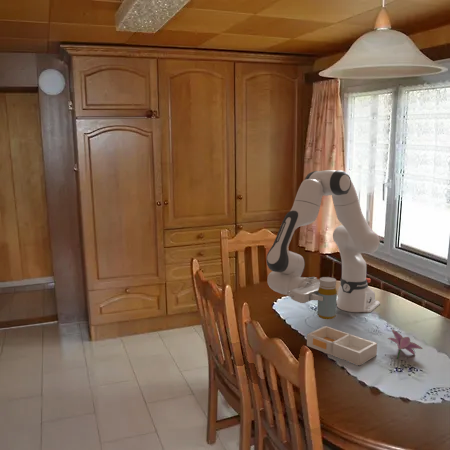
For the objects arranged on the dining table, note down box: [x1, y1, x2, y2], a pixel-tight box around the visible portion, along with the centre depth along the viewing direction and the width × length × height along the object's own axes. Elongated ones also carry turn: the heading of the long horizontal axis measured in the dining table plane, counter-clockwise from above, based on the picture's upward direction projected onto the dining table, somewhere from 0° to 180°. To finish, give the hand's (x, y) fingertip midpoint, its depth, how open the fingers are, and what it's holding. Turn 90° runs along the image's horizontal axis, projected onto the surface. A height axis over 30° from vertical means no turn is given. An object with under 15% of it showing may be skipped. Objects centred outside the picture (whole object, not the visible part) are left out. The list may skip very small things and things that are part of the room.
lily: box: [387, 329, 423, 360], centre depth 175 cm, size 12×12×10 cm
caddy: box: [306, 325, 378, 366], centre depth 180 cm, size 12×23×5 cm, turn 43°
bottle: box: [316, 276, 338, 320], centre depth 183 cm, size 7×7×15 cm
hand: (329, 296), depth 182 cm, fingers closed on bottle, 6 cm apart
